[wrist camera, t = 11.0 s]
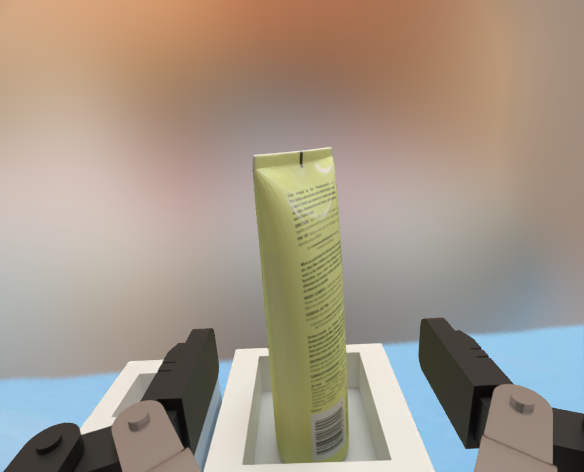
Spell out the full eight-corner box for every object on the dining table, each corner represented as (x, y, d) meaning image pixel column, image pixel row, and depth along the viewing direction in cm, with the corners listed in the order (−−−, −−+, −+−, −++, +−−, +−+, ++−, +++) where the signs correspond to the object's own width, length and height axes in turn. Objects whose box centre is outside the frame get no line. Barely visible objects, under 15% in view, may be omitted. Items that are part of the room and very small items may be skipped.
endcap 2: (210, 545, 18) (199, 485, 17) (241, 393, 28) (236, 349, 27) (430, 538, 18) (437, 478, 16) (379, 388, 28) (381, 343, 27)
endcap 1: (90, 492, 21) (73, 438, 20) (139, 405, 28) (129, 361, 26) (198, 489, 21) (188, 434, 20) (222, 402, 28) (215, 357, 26)
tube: (272, 412, 25) (248, 149, 19) (336, 401, 26) (332, 144, 20) (280, 487, 20) (251, 155, 14) (361, 471, 20) (366, 147, 14)
